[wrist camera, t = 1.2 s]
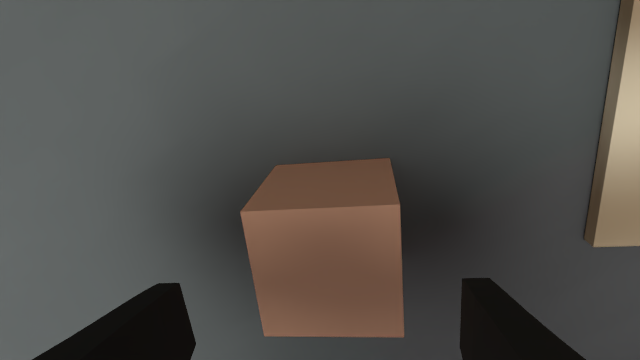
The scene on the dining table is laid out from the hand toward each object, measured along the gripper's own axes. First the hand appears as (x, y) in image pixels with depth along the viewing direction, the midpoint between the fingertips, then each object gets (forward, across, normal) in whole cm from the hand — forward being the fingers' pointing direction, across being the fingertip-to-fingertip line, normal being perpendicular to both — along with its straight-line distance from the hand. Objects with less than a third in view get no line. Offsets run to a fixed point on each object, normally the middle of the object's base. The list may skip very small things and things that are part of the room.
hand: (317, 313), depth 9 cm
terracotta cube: (+6, 0, 0) cm, 6 cm away
